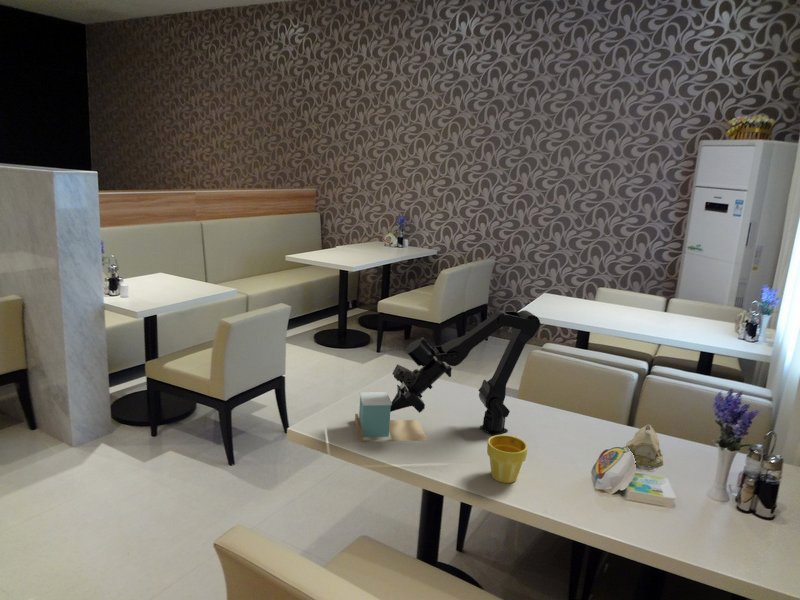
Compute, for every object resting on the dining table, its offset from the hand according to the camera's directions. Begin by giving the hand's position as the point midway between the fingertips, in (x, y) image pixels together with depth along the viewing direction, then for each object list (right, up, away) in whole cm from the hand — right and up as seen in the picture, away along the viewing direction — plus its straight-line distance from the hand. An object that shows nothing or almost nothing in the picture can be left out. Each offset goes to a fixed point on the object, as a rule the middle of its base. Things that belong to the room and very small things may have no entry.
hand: (388, 410), depth 173 cm
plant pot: (+31, -14, -19) cm, 39 cm away
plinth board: (0, -7, +2) cm, 7 cm away
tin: (-5, -6, +1) cm, 8 cm away
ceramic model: (+75, -13, -2) cm, 77 cm away
